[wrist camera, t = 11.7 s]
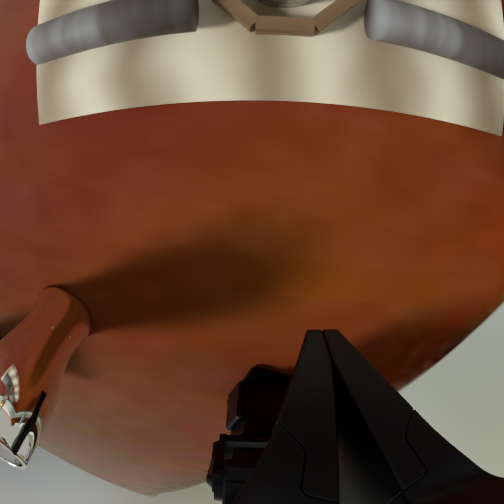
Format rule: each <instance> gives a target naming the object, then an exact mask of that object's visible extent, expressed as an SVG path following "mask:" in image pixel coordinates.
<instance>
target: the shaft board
mask: <svg viewBox="0 0 504 504" xmlns="http://www.w3.org/2000/svg"><path fill="white" fill-rule="evenodd" d="M26 49H27V53H28V56H29V58H30V59H31V61H32V62H33V63H35V64H37V97H38V113H39V125H41V124H45V123H49V122H54V121H58V120H63V119H68V118H72V117H77V116H83V115H88V114H94V113H100V112H106V111H112V110H119V109H126V108H134V107H142V106H151V105H160V104H172V103H185V102H201V101H228V100H271V101H298V102H315V103H328V104H339V105H349V106H358V107H366V108H373V109H381V110H387V111H394V112H400V113H406V114H411V115H417V116H422V117H427V118H432V119H437V120H441V121H446V122H450V123H454V124H458V125H463V126H466V127H470V128H474V129H478V130H481V131H485V132H489V133H492V134H495V135H499V136H502V131H503V120H504V22H503V12H502V4H501V0H311V1H310V2H308V3H306V4H304V5H301V6H298V7H294V8H276V7H272V6H268V5H265V4H263V3H261V2H259V1H258V0H40V7H39V19H38V25H37V26H35V27H33V28H32V29H31V30H30V32H29V34H28V36H27V41H26Z"/></svg>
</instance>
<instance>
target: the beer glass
mask: <svg viewBox="0 0 504 504" xmlns="http://www.w3.org/2000/svg"><path fill="white" fill-rule="evenodd" d="M90 330H91V320H90V316H89V314H88V312H87V310H86V309H85V307H84V306H83V304H82V303H81V302H80V301H79V300H78V299H77V298H76V297H75V296H73V295H72V294H71V293H69V292H67V291H66V290H63V289H61V288H57V287H47V288H45V289H43V290H42V291H41V292H40V293H39V294H38V296H37V298H36V300H35V302H34V304H33V306H32V308H31V309H30V311H29V313H28V314H27V316H26V317H25V318H24V319H23V320H22V321H21V323H20V324H18V325H17V326H16V327H15V328H14V329H13V330H12V331H10V332H9V333H8V334H7V335H6V336H5V337H3V338H2V339H1V340H0V459H1V460H3V461H5V462H6V463H8V464H10V465H12V466H14V467H17V468H19V469H26V468H27V465H28V463H29V461H30V459H31V457H32V456H33V454H34V452H35V450H36V448H37V446H38V445H39V443H40V441H41V439H42V437H43V435H44V433H45V431H46V429H47V426H48V424H49V422H50V419H51V417H52V414H53V411H54V408H55V405H56V402H57V399H58V395H59V391H60V388H61V384H62V381H63V377H64V374H65V370H66V367H67V364H68V362H69V360H70V358H71V356H72V354H73V352H74V351H75V350H76V348H77V347H78V346H79V345H80V344H81V343H82V342H83V341H84V340H85V338H86V337H87V336H88V335H89V333H90Z"/></svg>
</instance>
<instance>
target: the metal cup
mask: <svg viewBox="0 0 504 504" xmlns="http://www.w3.org/2000/svg"><path fill="white" fill-rule="evenodd" d="M258 1H259V2H261V3H263V4H265V5H268V6H272V7H276V8H294V7H298V6H301V5H304V4H306V3H308V2H310V1H311V0H258Z"/></svg>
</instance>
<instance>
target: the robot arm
mask: <svg viewBox="0 0 504 504" xmlns="http://www.w3.org/2000/svg"><path fill="white" fill-rule="evenodd" d="M227 405H228V408H227V420H226V428H227V430H229V431H231V435H227V434H220V439H219V441H217V442H214V443H213V452H212V459H211V463H210V467H209V470H208V474H207V478H206V482H207V483H208V484H209V485H210V486H211V487H212V491H213V492H214V499H215V500H218V501H222V504H504V478H502V477H498V476H494V475H492V474H490V473H488V472H486V471H484V470H483V469H481V468H480V467H479V466H477V465H476V464H475V463H474V462H472V461H471V460H470V459H469V458H467V457H466V456H465V455H464V454H463V453H461V452H460V451H459V450H458V449H456V448H455V447H454V446H453V445H452V444H450V443H449V442H448V441H447V440H446V439H445V438H443V437H442V436H441V435H440V434H439V433H438V432H437V431H436V430H434V429H433V428H432V427H431V426H430V425H429V424H428V423H427V422H426V421H425V420H424V419H423V418H422V417H421V416H420V415H419V413H418V412H416V410H413V408H412V406H411V405H410V404H409V403H408V402H407V401H406V400H405V399H404V398H403V397H402V396H401V395H400V394H399V393H398V392H397V391H396V390H395V389H394V388H393V387H392V386H391V385H390V383H389V382H388V381H387V380H386V379H385V378H384V377H383V376H382V375H381V374H380V373H379V372H378V371H377V370H376V369H375V368H374V367H373V366H372V365H371V364H370V363H369V362H368V361H367V360H366V359H365V358H364V357H363V356H362V354H361V353H360V352H359V351H358V350H357V349H356V348H355V347H354V346H353V345H352V344H351V343H350V342H349V341H348V340H347V339H346V338H345V337H344V336H343V335H342V334H341V333H340V332H339V331H338V330H336V329H326V330H323V331H321V330H307V331H306V334H305V337H304V341H303V344H302V347H301V350H300V353H299V357H298V360H297V363H296V366H295V369H294V372H293V375H292V377H289V376H286V375H282V374H279V373H275V372H272V371H269V370H265V369H262V368H259V367H253V368H251V369H250V371H249V372H248V373H247V375H246V376H245V377H244V379H243V380H242V381H240V382H238V384H237V385H236V386H235V388H234V389H233V390H232V392H231V393H230V394H229V397H228V400H227Z"/></svg>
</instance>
